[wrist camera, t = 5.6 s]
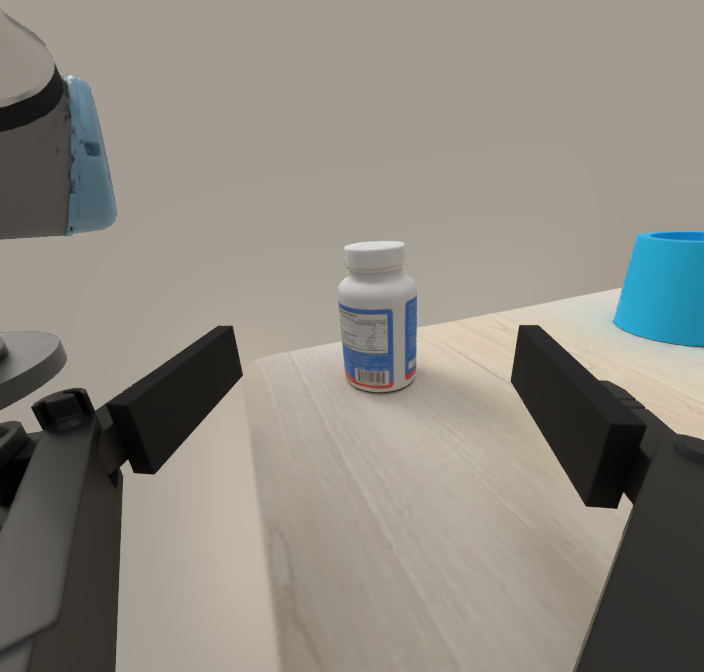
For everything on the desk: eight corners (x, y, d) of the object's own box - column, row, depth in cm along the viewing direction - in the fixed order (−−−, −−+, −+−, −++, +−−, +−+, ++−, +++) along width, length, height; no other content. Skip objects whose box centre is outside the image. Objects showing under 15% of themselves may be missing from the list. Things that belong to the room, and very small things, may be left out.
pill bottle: (389, 353, 28) (387, 237, 24) (430, 380, 24) (436, 243, 20) (332, 371, 26) (321, 245, 22) (367, 403, 21) (360, 253, 18)
